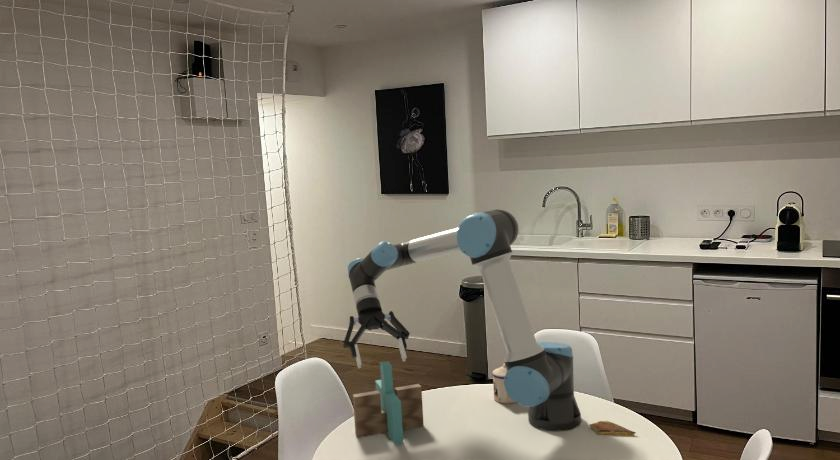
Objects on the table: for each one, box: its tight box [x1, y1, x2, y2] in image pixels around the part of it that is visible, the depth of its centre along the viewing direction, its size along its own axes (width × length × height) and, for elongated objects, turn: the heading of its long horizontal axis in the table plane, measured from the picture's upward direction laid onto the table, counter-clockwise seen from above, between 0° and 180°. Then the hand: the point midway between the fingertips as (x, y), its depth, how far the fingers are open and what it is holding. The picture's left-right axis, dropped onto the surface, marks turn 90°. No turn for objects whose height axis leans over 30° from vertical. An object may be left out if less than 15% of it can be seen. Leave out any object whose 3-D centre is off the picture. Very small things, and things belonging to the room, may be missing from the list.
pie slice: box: [589, 420, 636, 437], centre depth 174 cm, size 11×8×2 cm
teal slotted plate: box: [374, 360, 404, 445], centre depth 183 cm, size 20×2×20 cm, turn 18°
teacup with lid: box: [492, 363, 516, 404], centre depth 201 cm, size 12×9×12 cm
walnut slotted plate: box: [352, 383, 424, 439], centre depth 183 cm, size 20×2×12 cm, turn 108°
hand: (382, 362), depth 184 cm, fingers open, 13 cm apart
